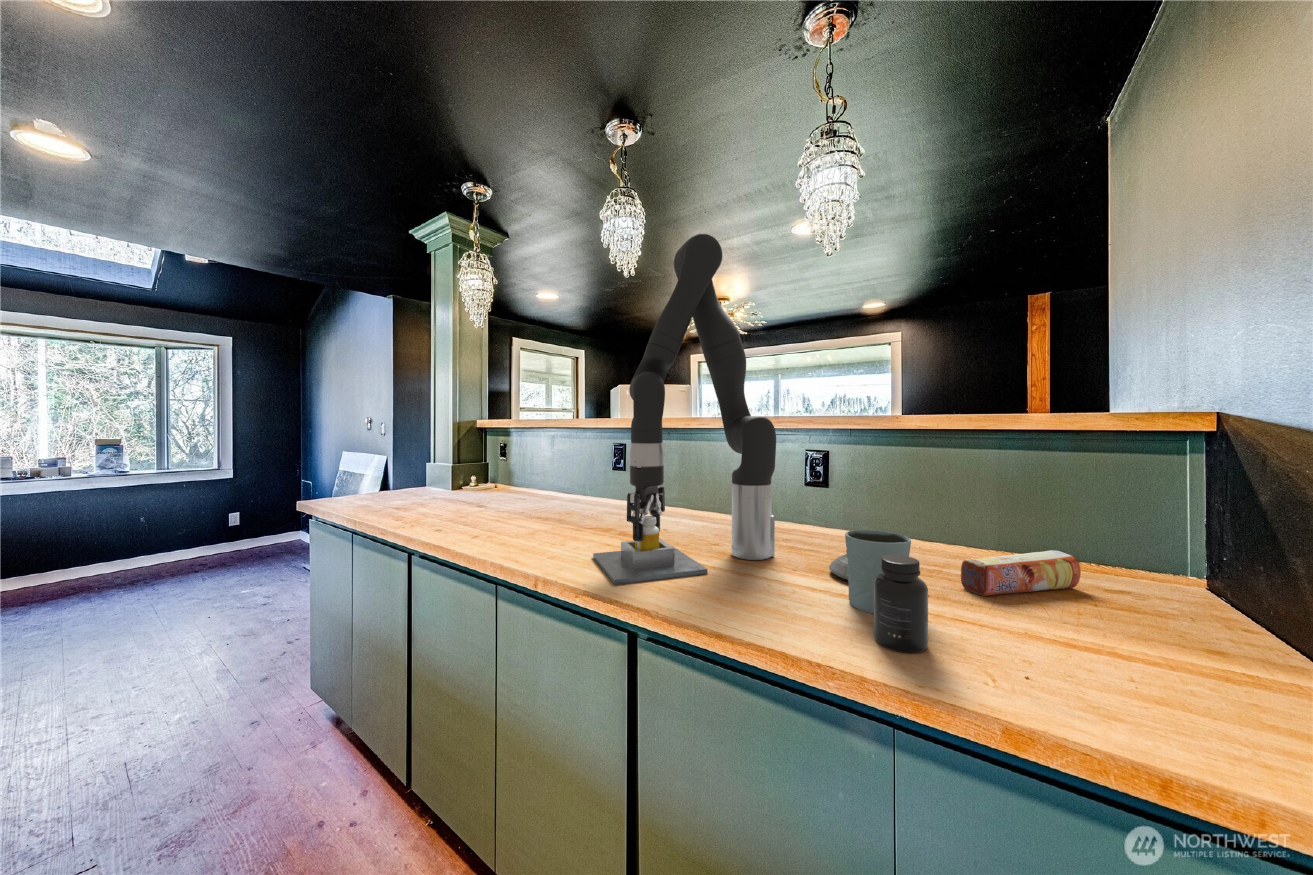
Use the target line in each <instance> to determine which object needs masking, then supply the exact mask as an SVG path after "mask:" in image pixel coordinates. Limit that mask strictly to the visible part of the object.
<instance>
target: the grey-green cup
mask: <svg viewBox="0 0 1313 875" xmlns="http://www.w3.org/2000/svg"><path fill="white" fill-rule="evenodd" d="M844 538H845V548H846V554H847V560H848V568H847V571H848V579H849V580H847V582H848V601H849V604H850V605H851V606H852V607H854V608H855V609H857V610H860V611H862V612H866V613H869V614H873V615H874V580H875V578H876V577H877V576H878V575H879V574H881V573H883V572H882V571H881V558H882V557H883V556H885V555H903V556H908V557H910V553H911V546H912V545H911V544H912V540H911V538H910V537H908V536H907V535H903V534H900V533H895V532H890V531H889V532H888V531H885V530H884V531H883V530H875V529H874V530H873V529H872V530H871V529H853V530H847V531H846V532H845V534H844Z"/></svg>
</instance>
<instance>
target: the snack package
mask: <svg viewBox="0 0 1313 875" xmlns="http://www.w3.org/2000/svg"><path fill="white" fill-rule="evenodd" d="M1081 571H1082V570H1081V564H1080V563H1079V561H1078V560H1077V558H1075V557H1074V556H1073V555H1071V554H1068V553H1066V552H1062V551H1060V550H1046V551H1045V550H1044V551H1035V552H1027V553H1025V552H1024V553H1019V554H1008V555H998V556H988V557H982V558H966V559H964V560H962V562H961V567H960V581H961V585H962V586H963V588H964V589H965V590H966V591H968V592H971V593H973V594H976V595H979V596H982V597H986V596H987V597H988V596H995V595H1005V594H1017V593H1029V592H1038V591H1048V590H1062V589H1065V590H1066V589H1074V588H1075V587H1077V585H1078V584H1079V583H1080V578H1081V573H1082V572H1081Z"/></svg>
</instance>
